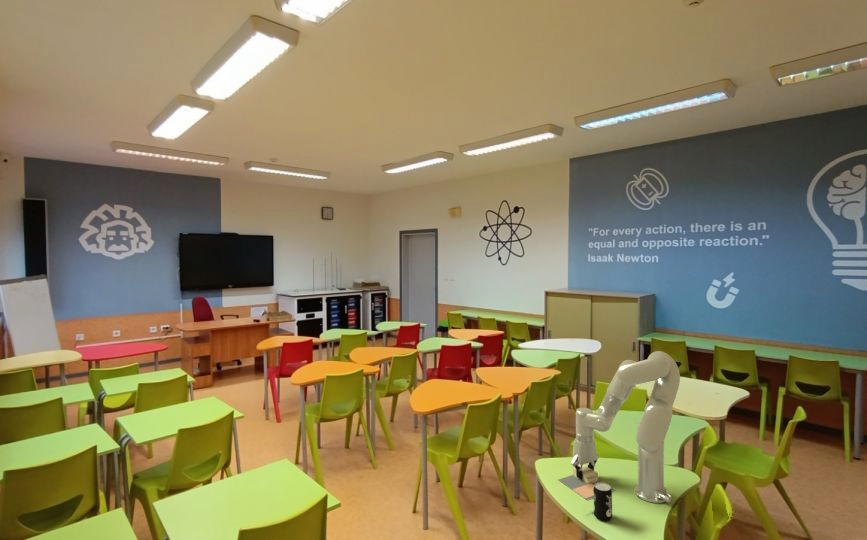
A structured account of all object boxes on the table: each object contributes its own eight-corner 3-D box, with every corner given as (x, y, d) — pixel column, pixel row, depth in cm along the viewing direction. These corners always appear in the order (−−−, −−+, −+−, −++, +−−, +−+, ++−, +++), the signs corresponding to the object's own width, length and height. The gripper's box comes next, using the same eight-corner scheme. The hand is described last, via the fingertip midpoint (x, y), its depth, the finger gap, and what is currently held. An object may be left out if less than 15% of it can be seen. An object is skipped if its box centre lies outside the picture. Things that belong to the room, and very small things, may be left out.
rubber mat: (616, 492, 180) (616, 490, 180) (587, 501, 173) (587, 500, 173) (584, 472, 196) (584, 470, 196) (557, 481, 190) (557, 479, 190)
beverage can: (602, 524, 159) (602, 492, 159) (589, 514, 165) (589, 484, 165) (616, 519, 162) (615, 488, 161) (602, 510, 168) (602, 480, 167)
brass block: (598, 481, 188) (597, 473, 188) (587, 484, 185) (587, 476, 185) (583, 471, 196) (582, 464, 196) (572, 474, 193) (572, 467, 193)
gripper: (593, 430, 197) (593, 468, 198) (563, 437, 190) (564, 477, 190) (605, 436, 190) (606, 475, 191) (575, 444, 183) (576, 485, 184)
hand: (585, 476), depth 191 cm, fingers closed on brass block, 6 cm apart
